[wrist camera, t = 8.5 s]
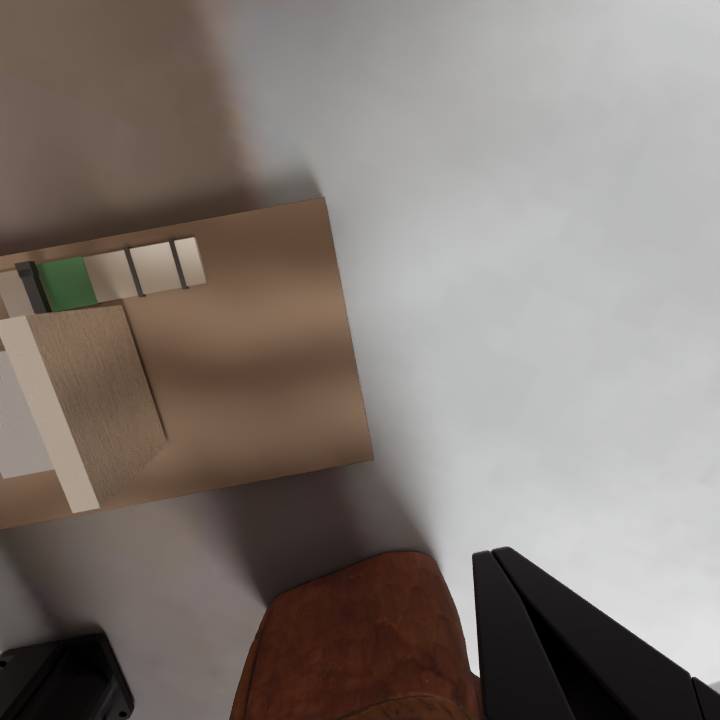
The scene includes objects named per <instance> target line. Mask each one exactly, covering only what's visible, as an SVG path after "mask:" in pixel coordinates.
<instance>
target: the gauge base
mask: <svg viewBox="0 0 720 720" xmlns="http://www.w3.org/2000/svg"><path fill="white" fill-rule="evenodd" d="M25 261H35V264H36V267H37V269H38V272H39V275H40V276H39V278H40V281H41V284H42V286H43V289H44V292H45V294H46V297H47V300H48V302H49V305H50V308H51V310H52V313H53V312H62V311H72V310H81V309H91V308H100V307H110V306H119V305H122V307H123V310H124V313H125V316H126V319H127V322H128V325H129V328H130V331H131V334H132V337H133V340H134V343H135V347H136V350H137V353H138V356H139V359H140V362H141V365H142V368H143V371H144V374H145V377H146V380H147V383H148V386H149V389H150V392H151V395H152V399H153V402H154V405H155V408H156V411H157V414H158V417H159V420H160V423H161V426H162V429H163V432H164V435H165V438H166V441H167V444H168V446H167V447H165V448H164V449H163V450H162V451H161V452H160V453H159V454H158V455H157V456H156V457H155V458H154V459H153V460H151V461H150V462H149V463H148V464H147V465H146V466H145V467H144V468H143V469H142V470H141V471H140V472H139V473H138V474H136V475H135V476H134V477H133V478H132V479H131V480H130V481H129V482H128V483H127V484H126V485H125V486H124V487H122V488H121V489H120V490H119V491H118V492H117V493H116V494H115V495H114V496H113V497H112V498H111V499H110V500H109V501H107V502H106V503H105V504H104V505H103V506H102V507H101V508H98V509H93V510H88V511H82V512H77V513H72V510H71V508H70V505H69V503H68V500H67V498H66V496H65V493H64V491H63V488H62V486H61V483H60V481H59V479H58V476H57V474H56V471H55V469H54V470H48V471H43V472H38V473H32V474H27V475H22V476H16V477H11V478H6V479H3V477H2V474H1V472H0V530H2V529H7V528H12V527H18V526H23V525H28V524H34V523H39V522H44V521H50V520H55V519H60V518H66V517H71V516H76V515H82V514H87V513H92V512H98V511H103V510H108V509H114V508H119V507H124V506H130V505H135V504H140V503H146V502H151V501H156V500H162V499H167V498H172V497H178V496H183V495H188V494H194V493H199V492H204V491H210V490H215V489H220V488H226V487H231V486H237V485H242V484H247V483H253V482H258V481H263V480H269V479H274V478H279V477H285V476H290V475H295V474H301V473H306V472H311V471H317V470H322V469H327V468H333V467H338V466H343V465H349V464H354V463H359V462H365V461H370V460H374V458H373V452H372V446H371V441H370V436H369V430H368V425H367V420H366V414H365V409H364V404H363V398H362V393H361V388H360V382H359V377H358V372H357V366H356V361H355V356H354V350H353V345H352V339H351V334H350V329H349V323H348V318H347V313H346V307H345V302H344V297H343V291H342V286H341V281H340V275H339V270H338V265H337V259H336V254H335V249H334V243H333V238H332V233H331V227H330V222H329V217H328V211H327V206H326V201H325V197H322V198H317V199H311V200H306V201H301V202H295V203H290V204H284V205H279V206H273V207H268V208H262V209H257V210H251V211H246V212H240V213H235V214H229V215H224V216H218V217H213V218H208V219H202V220H197V221H191V222H186V223H180V224H175V225H169V226H164V227H158V228H153V229H147V230H142V231H136V232H131V233H125V234H120V235H115V236H109V237H104V238H98V239H93V240H87V241H82V242H76V243H71V244H65V245H60V246H54V247H49V248H43V249H38V250H32V251H27V252H21V253H16V254H11V255H5V256H0V320H3V319H8V318H14V317H19V316H25V315H34V314H35V313H34V311H33V308H32V306H31V303H30V300H29V298H28V295H27V293H26V290H25V287H24V285H23V282H22V279H21V278H19V275H18V272H17V270H16V267H15V265H14V263H20V262H25ZM2 350H5V347H4V345H3V342H2V340H1V338H0V351H2Z"/></svg>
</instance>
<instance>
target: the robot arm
mask: <svg viewBox="0 0 720 720" xmlns="http://www.w3.org/2000/svg"><path fill="white" fill-rule="evenodd" d="M472 564H473V579H474V594H475V609H476V624H477V639H478V654H479V670H480V685H481V700H482V715H483V720H720V694H719V693H717V692H716V691H714V690H713V689H712V688H710V687H709V686H708V685H706V684H705V683H703V682H702V681H700V680H699V679H698V678H696V677H692V678H691V676H690V674H689V672H687V671H686V670H684V669H683V668H682V667H680V666H679V665H677V664H676V663H674V662H673V661H672V660H670V659H669V658H667V657H666V656H665V655H663V654H662V653H660V652H659V651H657V650H656V649H655V648H653V647H652V646H650V645H649V644H647V643H646V642H645V641H643V640H642V639H640V638H639V637H637V636H636V635H635V634H633V633H632V632H630V631H629V630H628V629H626V628H625V627H623V626H622V625H620V624H619V623H618V622H616V621H615V620H613V619H612V618H610V617H609V616H608V615H606V614H605V613H603V612H602V611H600V610H599V609H598V608H596V607H595V606H593V605H592V604H591V603H589V602H588V601H586V600H585V599H583V598H582V597H581V596H579V595H578V594H576V593H575V592H573V591H572V590H571V589H569V588H568V587H566V586H565V585H563V584H562V583H561V582H559V581H558V580H556V579H555V578H554V577H552V576H551V575H549V574H548V573H546V572H545V571H544V570H542V569H541V568H539V567H538V566H536V565H535V564H534V563H532V562H531V561H529V560H528V559H526V558H525V557H524V556H522V555H521V554H519V553H518V552H517V551H515V550H514V549H512V548H511V547H501V548H496V549H493V550H492V551H491V552H490V551H488V550H487V551H482V552H477V553H473V555H472ZM133 710H134V704H133V702H132V699H131V697H130V695H129V692H128V690H127V688H126V685H125V683H124V681H123V678H122V676H121V674H120V671H119V669H118V666H117V664H116V662H115V659H114V657H113V655H112V652H111V650H110V648H109V645H108V643H107V641H106V639H105V637H104V636H102V635H100V634H93V635H87V636H82V637H77V638H71V639H66V640H61V641H56V642H50V643H45V644H40V645H34V646H29V647H24V648H19V649H13V650H8V651H4V652H3V653H2V654H1V655H0V720H127V719H129V718H130V716H131V714H132V712H133Z"/></svg>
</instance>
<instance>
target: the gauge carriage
mask: <svg viewBox="0 0 720 720" xmlns="http://www.w3.org/2000/svg"><path fill="white" fill-rule="evenodd" d="M14 265H15V267H16V270H17V272H18V275H19V278H21V279H22V282H23V285H24V287H25V290H26V293H27V295H28V298H29V300H30V303H31V306H32V308H33V311H34V313H35V314H34V315H25V316H19V317H14V318H8V319H3V320H0V338H1V340H2V342H3V345H4V347H5V350H2V351H0V472H1V474H2V477H3V479H6V478H11V477H16V476H22V475H27V474H32V473H38V472H43V471H48V470H54V469H55V471H56V474H57V476H58V479H59V481H60V483H61V486H62V488H63V491H64V493H65V496H66V498H67V500H68V503H69V505H70V508H71V510H72V513H77V512H82V511H88V510H93V509H98V508H101V507H102V506H103V505H104V504H105V503H106V502H107V501H109V500H110V499H111V498H112V497H113V496H114V495H115V494H116V493H117V492H118V491H119V490H120V489H121V488H122V487H124V486H125V485H126V484H127V483H128V482H129V481H130V480H131V479H132V478H133V477H134V476H135V475H136V474H138V473H139V472H140V471H141V470H142V469H143V468H144V467H145V466H146V465H147V464H148V463H149V462H150V461H151V460H153V459H154V458H155V457H156V456H157V455H158V454H159V453H160V452H161V451H162V450H163V449H164V448H165V447H167V446H168V444H167V441H166V438H165V435H164V432H163V429H162V426H161V423H160V420H159V417H158V414H157V411H156V408H155V405H154V402H153V399H152V395H151V392H150V389H149V386H148V383H147V380H146V377H145V374H144V371H143V368H142V365H141V362H140V359H139V356H138V353H137V350H136V347H135V343H134V340H133V337H132V334H131V331H130V328H129V325H128V322H127V319H126V316H125V313H124V310H123V307H122V305H119V306H110V307H100V308H91V309H81V310H72V311H62V312H53V313H52V310H51V308H50V305H49V302H48V300H47V297H46V294H45V292H44V289H43V286H42V284H41V281H40V278H39V276H40V275H39V272H38V269H37V267H36V264H35V261H25V262H20V263H14Z"/></svg>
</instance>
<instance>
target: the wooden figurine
mask: <svg viewBox="0 0 720 720" xmlns="http://www.w3.org/2000/svg"><path fill="white" fill-rule="evenodd" d="M229 720H483V715H482V700H481V685H480V678H479V677H478V676H476V675H474V674H473V673H472V672H471V670H470V666H469V661H468V656H467V650H466V643H465V638H464V635H463V631H462V627H461V622H460V618H459V615H458V612H457V609H456V606H455V603H454V601H453V598H452V596H451V594H450V591H449V589H448V586H447V584H446V582H445V580H444V578H443V575H442V574H441V572H440V569H439V567H438V565H437V563H436V561H435V560H434V559H433V558H431V557H429V556H427V555H424V554H422V553H418V552H412V551H406V552H387V553H383V554H379V555H376V556H374V557H371V558H368V559H366V560H364V561H361V562H358V563H355V564H353V565H351V566H350V567H347V568H345V569H342V570H339V571H337V572H335V573H333V574H331V575H328V576H325V577H322V578H319V579H316V580H313V581H311V582H308V583H305V584H303V585H301V586H298V587H296V588H293V589H291V590H289V591H286V592H284V593H282V594H280V595H278V596H277V597H276V598H275V599H274V600H273V602H272V603H271V605H270V606H269V607H268V609H267V610H266V612H265V614H264V616H263V619H262V621H261V623H260V626H259V630H258V631H257V633H256V636H255V640H254V641H253V643H252V645H251V647H250V650H249V653H248V656H247V659H246V662H245V665H244V668H243V672H242V675H241V679H240V682H239V684H238V688H237V691H236V695H235V698H234V702H233V706H232V710H231V714H230V719H229Z"/></svg>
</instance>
